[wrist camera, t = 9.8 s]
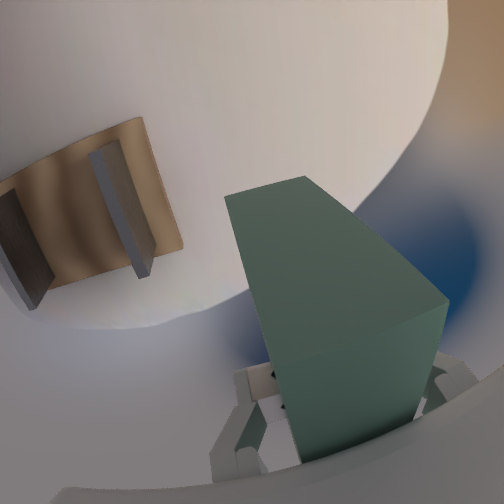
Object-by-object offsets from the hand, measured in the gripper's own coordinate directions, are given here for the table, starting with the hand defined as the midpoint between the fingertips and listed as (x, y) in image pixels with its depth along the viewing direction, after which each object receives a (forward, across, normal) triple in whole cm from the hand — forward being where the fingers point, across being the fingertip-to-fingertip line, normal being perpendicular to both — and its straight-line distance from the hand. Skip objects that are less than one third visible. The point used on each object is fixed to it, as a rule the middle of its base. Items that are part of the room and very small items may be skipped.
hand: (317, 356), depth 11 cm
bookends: (+25, +19, -2) cm, 32 cm away
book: (+5, 0, 0) cm, 5 cm away
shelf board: (+27, +19, -2) cm, 33 cm away
